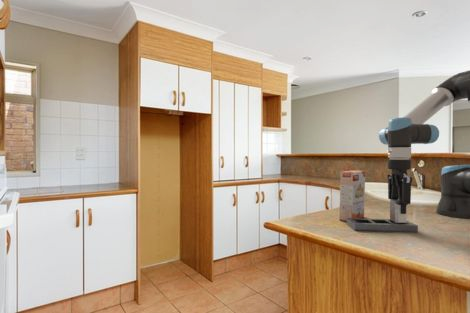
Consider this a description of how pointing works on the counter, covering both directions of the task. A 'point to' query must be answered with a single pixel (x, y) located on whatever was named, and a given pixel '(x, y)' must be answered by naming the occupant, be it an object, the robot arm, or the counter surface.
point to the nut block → (395, 211)
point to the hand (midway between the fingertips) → (398, 220)
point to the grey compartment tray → (380, 225)
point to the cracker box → (352, 194)
